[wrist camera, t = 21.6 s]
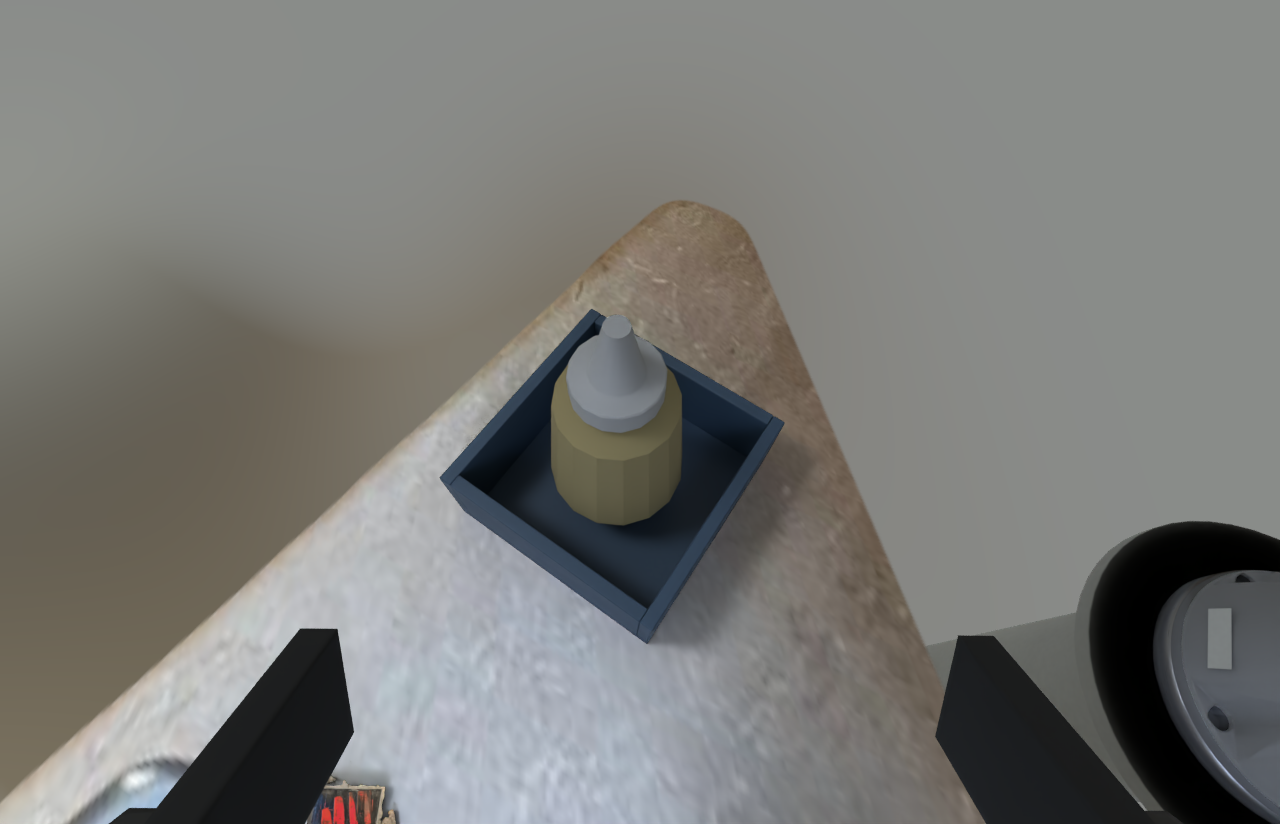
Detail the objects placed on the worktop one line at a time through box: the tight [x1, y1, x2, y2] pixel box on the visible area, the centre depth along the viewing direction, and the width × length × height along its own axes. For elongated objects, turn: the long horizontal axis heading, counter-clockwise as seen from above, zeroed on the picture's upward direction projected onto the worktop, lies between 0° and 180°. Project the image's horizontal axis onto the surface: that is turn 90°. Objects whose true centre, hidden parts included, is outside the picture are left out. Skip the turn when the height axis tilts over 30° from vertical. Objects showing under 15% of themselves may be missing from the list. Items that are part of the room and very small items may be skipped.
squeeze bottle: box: [551, 315, 682, 526], centre depth 32 cm, size 8×8×18 cm
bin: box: [440, 309, 784, 644], centre depth 38 cm, size 15×15×6 cm
